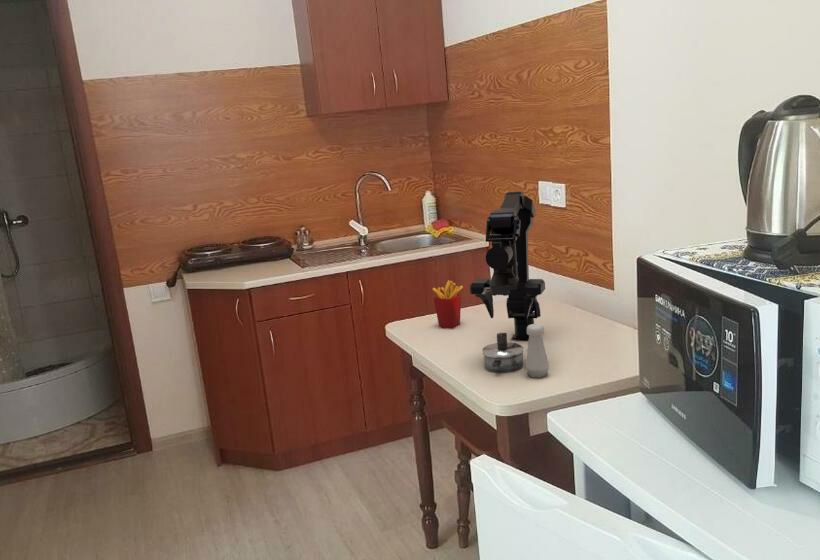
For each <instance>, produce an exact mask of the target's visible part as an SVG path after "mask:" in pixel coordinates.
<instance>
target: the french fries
mask: <svg viewBox="0 0 820 560" xmlns="http://www.w3.org/2000/svg"><path fill="white" fill-rule="evenodd" d="M462 289H464V286H463V285H460V286H458V285H456V283H455V282H454V281H452V280H449V279H448V280H447V282H446V283H445V286H444V287H443V286H441V287H440V286H439V287H437V288H435V287H433V288H432V289H431V290H432V291H433V292H434V293H435V294H437V295H436V296H435V297H434V298H433V302H434V307H435V313H436V318H437V323H438V327H441V328H440V329H446V328H454V327H455V328H457V327H458V325H459V326H460V325H461V310H462V309H461V308H462V306H461V305H462V294H461V293H459V292H460V291H461V290H462ZM441 291H443V293H442V292H441ZM456 326H457V327H456ZM455 328H454V329H455Z"/></svg>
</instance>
